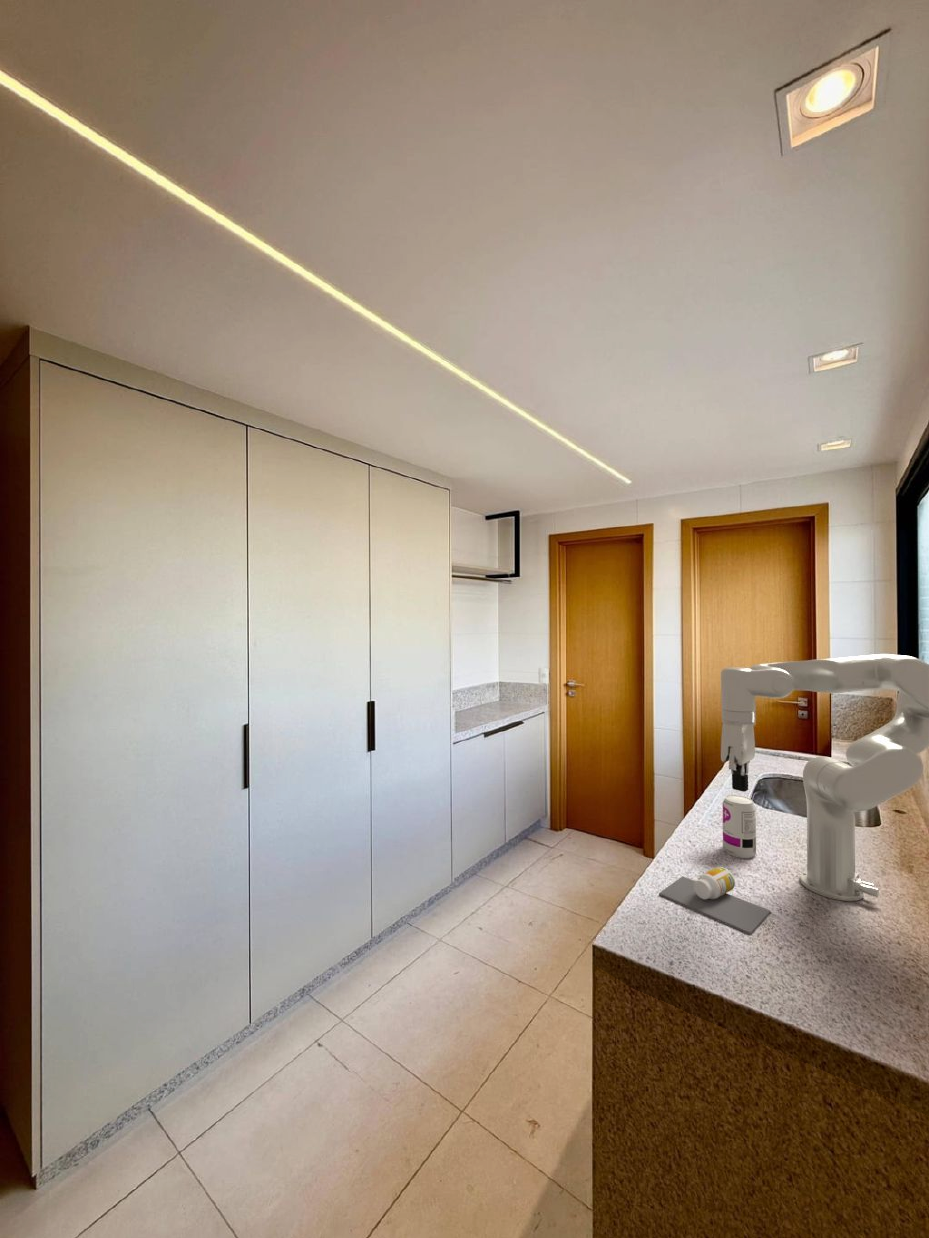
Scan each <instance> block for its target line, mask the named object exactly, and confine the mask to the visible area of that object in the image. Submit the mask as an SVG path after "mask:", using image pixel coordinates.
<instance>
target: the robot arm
mask: <svg viewBox="0 0 929 1238" xmlns="http://www.w3.org/2000/svg"><path fill="white" fill-rule="evenodd" d="M877 690H889V691H890V690H891V691H896V692H898V694H897V698H896V702H897V703H896V704H897V705H896V712H895V715H894V717H893V718H892V719H891V720H890V721H889V722H888V723H885V724H884V725H883V726H881V727H879V728H878V729H875V730H874V731H872V732H871V733H868V734H866V735H864V736H862V737H860V738H859V739H857V740H855V741H854V742H852V743H851V744H850V745H849V746H848V747H847V748H846V751H845V757H846V760H847V761H848V763H849V764H848V763H846V762H843V761H841V760H838V759H836V758H833V757H829V756H816V757H813V758H811V759H810V760H808V761H807V762H806V764H805V765H804V768H803V771H802V781H803V788H804V793H805V800H806V870H804V871H802V872H801V873H799V881H800V883H801V884H802V885H803V886H804V887H805V888H806V889H808V890H810V891H811V892H813V893H815V894H817V895H820V896H823V897H825V898H829V899H834V900H837V901H842V902H843V901H844V902H855V901H860V900H862V899H863V898H864V895H865V894H866V895H869V896H871V897H875V898H879V895H880V894H879V893H880V889H879V888H876V887H875V884H874V883H871V882H868V881H865V880H862V879H861V878H860V873H859V872H856V816H855V812H856V813H857V812H865V811H868V810H871V809H873V808H876V807H878V806H879V805H882V804H884V803H886V802H888V801H890V800H891V799H893V798H895V797H897V796H899V795H901V794H903V793H904V792H906V791H908V790H910V789H911V788H913V787H914V786H915V785H917V783H918V782H919V781H920V780H921V778H922V776H923V773H924V764H923V762H922V759H921V758H920V756H919V754H921V753H923V752H924V751H925V750H926V749H928V748H929V663H927V662H926V661H923V660H921V659H920V658H917V657H914V656H910V655H901V654H892V653H891V654H890V653H877V654H865V655H857V656H847V657H836V658H834V657H833V658H822V659H821V658H818V659H809V660H797V661H779V662H771V663H760V664H755V665H752V666H750V667H749V668H748V667H740V666H739V667H736V666H735V667H725V668H723V669H722V670H721V671H720V693H721V694H720V699H721V722H722V727H721V737H720V738H721V739H720V741H721V742H720V761H721V762H722V763H727V762H728V770H730V771H731V772H730V773H731V787H732V788H731V789H732V790H734V791H739V792H744V793H745V792H747V791H748V790H749V765H750V763H751V761H752V760H753V759H754V758H755V757H756V756H755V754H756V741H755V740H756V739H755V730H754V729H755V728H754V725H756V724H757V714H756V712H757V710H756V708H757V707H756V697H760V698H767V699H768V698H769V699H783V698H786V697H789V696H790V695H791V694H792V693H793V692H794V691H807V692H808V691H809V692H813V693H814V692H815V693H822V694H842V693H851V692H854V693H855V692H863V691H877Z"/></svg>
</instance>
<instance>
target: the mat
mask: <svg viewBox="0 0 929 1238" xmlns="http://www.w3.org/2000/svg"><path fill="white" fill-rule="evenodd" d="M696 881H697V880H693V879H691V878H688V877H686V876H683V875H682V876H681V877H679V878H677V880H676V881H674V882H672V883H671V884H669V885H668V886H667V887H666V888H664V889H663V890H661V891H660V892H659V894H658V895H659V896H661V898H662V897H663V898H664V899H667V900H669V901H672V902H674V903H676V904H678V905H680V906H683V907H685V908H688V909H691V910H693V911H694V912H697V913H698V914H702V915H703V916H707V917H708V918H710V919H713V920H716V921H718V922H720V923H722V924H724V925H727V926H729V927H731V928H734V929H735V930H737V931H740V932H742V933H745V934H747V935H749V936H751V935H752V934H754V932H755V931H756V930H757V929H758V928H759V926H761V924H762V923H763V922H764V921H765V920H766V919H767V918H768V917H769V915H770V914H771V912H772V911H771V910H770V909H767V908H765V907H762V906H760V905H757V904H754V903H753V902H750V901H747V900H744V899H742V898H739V897H737V896H734V895H731V894H729V893H728V892H727V893H725V894H723V895H722V896H720V897H718V898H716V899H709V898H708V899H702V898H700V897H699V896H698V895H697V894H696V892H695V890H694V883H695V882H696Z"/></svg>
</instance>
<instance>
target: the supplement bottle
mask: <svg viewBox="0 0 929 1238" xmlns="http://www.w3.org/2000/svg"><path fill="white" fill-rule="evenodd" d="M695 881H696V882H695V883H694V890H695V892H696V894H697V895H698V896H699V897H700V898H702V899H708V898H709V899H716V898H718V897H720V896H722V895H723V894H725V893H727V894H728V893H729V892H731V891H733V890H734V888H735V886H736V881H735V878H734V876H733V874H732V872H731V871H730V870H728V869H727V868H726V867H723V866H717V867H715V868H712V869H710V870H708V871H706V872H704V873H701V874H700V875H699V876H698V878H697V880H695Z"/></svg>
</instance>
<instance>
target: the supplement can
mask: <svg viewBox="0 0 929 1238" xmlns="http://www.w3.org/2000/svg"><path fill="white" fill-rule="evenodd" d="M722 849H723V850H725V852H726V853H727V854H729V855H730V856H733V857H735V858H740V859H752V858H753V857H754V856H756V855H757V808H756V805H755V803H754V801H753V799H751V798H750V797H747V796H743V795H736V794H732V795H731V794H729V795H726V796H725V797H724V799H723V801H722Z"/></svg>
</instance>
